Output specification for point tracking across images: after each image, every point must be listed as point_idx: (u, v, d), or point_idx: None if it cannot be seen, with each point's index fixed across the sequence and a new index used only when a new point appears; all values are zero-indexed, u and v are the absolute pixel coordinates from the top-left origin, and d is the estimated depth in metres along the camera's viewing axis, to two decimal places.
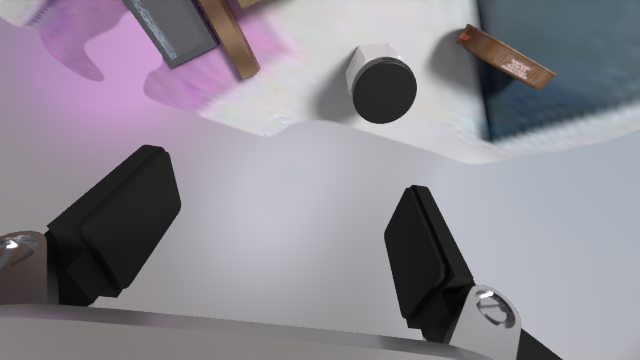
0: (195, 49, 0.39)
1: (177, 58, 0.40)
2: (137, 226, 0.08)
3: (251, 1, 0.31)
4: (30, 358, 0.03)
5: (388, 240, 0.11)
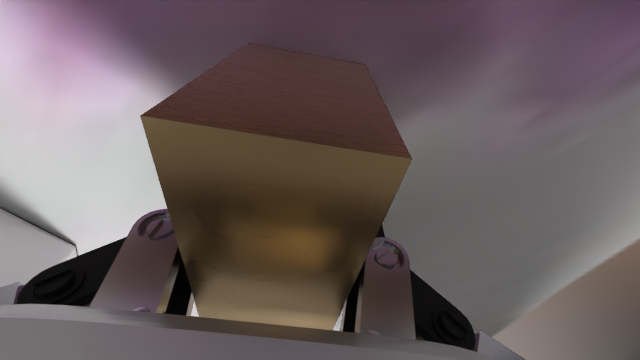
0: None
1: None
2: None
3: (173, 197, 0.04)
4: (30, 358, 0.03)
5: None
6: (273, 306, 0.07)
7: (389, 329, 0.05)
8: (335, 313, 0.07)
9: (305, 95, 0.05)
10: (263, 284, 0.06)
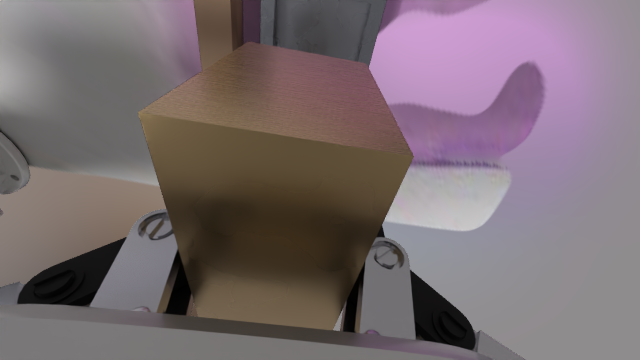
0: None
1: None
2: None
3: (171, 196, 0.04)
4: (30, 358, 0.03)
5: None
6: (273, 306, 0.07)
7: (389, 329, 0.05)
8: (335, 313, 0.07)
9: (305, 93, 0.05)
10: (262, 284, 0.06)
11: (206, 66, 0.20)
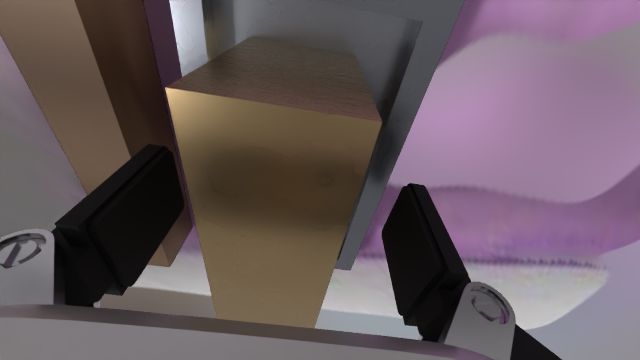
0: None
1: (395, 8, 0.08)
2: (142, 224, 0.08)
3: (188, 160, 0.05)
4: (30, 358, 0.03)
5: (385, 238, 0.11)
6: (273, 267, 0.08)
7: None
8: (328, 273, 0.08)
9: (298, 77, 0.06)
10: (263, 244, 0.07)
11: (72, 149, 0.09)
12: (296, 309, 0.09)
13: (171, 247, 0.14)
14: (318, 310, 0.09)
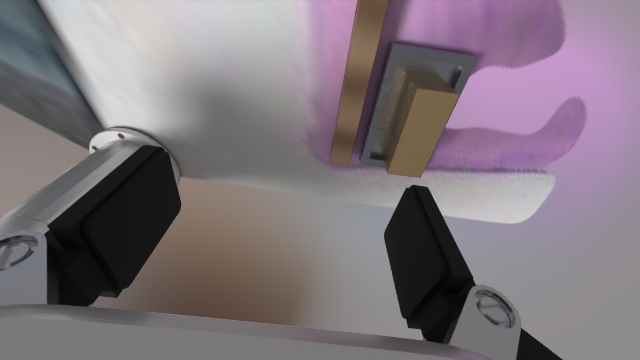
0: (422, 57, 0.26)
1: (456, 62, 0.26)
2: (137, 226, 0.08)
3: (413, 104, 0.24)
4: (30, 358, 0.03)
5: (388, 240, 0.11)
6: (419, 140, 0.26)
7: None
8: (435, 142, 0.26)
9: (434, 84, 0.25)
10: (420, 131, 0.26)
11: (343, 110, 0.28)
12: (419, 162, 0.28)
13: None
14: (427, 162, 0.28)
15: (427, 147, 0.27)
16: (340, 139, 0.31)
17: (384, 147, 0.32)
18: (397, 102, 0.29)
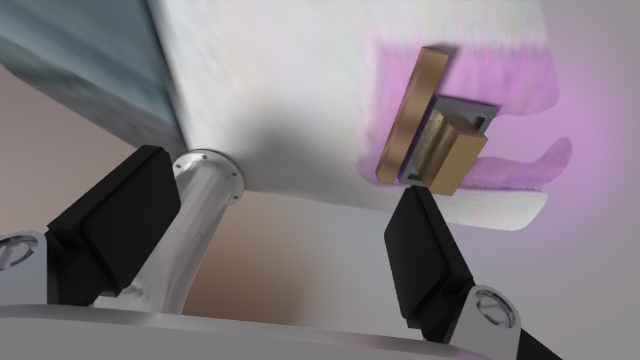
0: (458, 108, 0.35)
1: (482, 112, 0.35)
2: (137, 226, 0.08)
3: (454, 144, 0.33)
4: (30, 358, 0.03)
5: (388, 240, 0.11)
6: (455, 169, 0.35)
7: None
8: (466, 171, 0.35)
9: (468, 130, 0.34)
10: (457, 162, 0.35)
11: (396, 143, 0.37)
12: (452, 184, 0.37)
13: None
14: (458, 184, 0.37)
15: (460, 174, 0.36)
16: (389, 164, 0.39)
17: (421, 171, 0.41)
18: (435, 138, 0.38)
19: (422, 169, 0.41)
